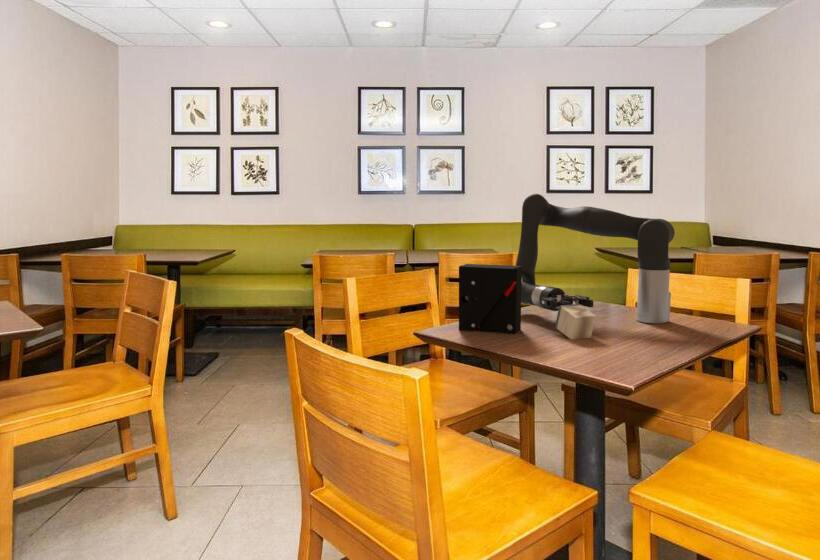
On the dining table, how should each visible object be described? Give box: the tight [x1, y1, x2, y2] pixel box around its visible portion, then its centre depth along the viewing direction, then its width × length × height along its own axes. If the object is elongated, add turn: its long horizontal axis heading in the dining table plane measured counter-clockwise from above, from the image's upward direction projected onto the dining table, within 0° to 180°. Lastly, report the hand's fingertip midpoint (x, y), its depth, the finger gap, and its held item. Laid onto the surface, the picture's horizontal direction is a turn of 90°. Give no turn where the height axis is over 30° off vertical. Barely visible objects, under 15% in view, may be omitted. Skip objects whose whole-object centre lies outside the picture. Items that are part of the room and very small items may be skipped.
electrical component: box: [458, 263, 522, 335], centre depth 170 cm, size 18×10×20 cm, turn 65°
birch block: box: [554, 303, 597, 340], centre depth 161 cm, size 7×7×8 cm
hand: (580, 304), depth 165 cm, fingers open, 8 cm apart
